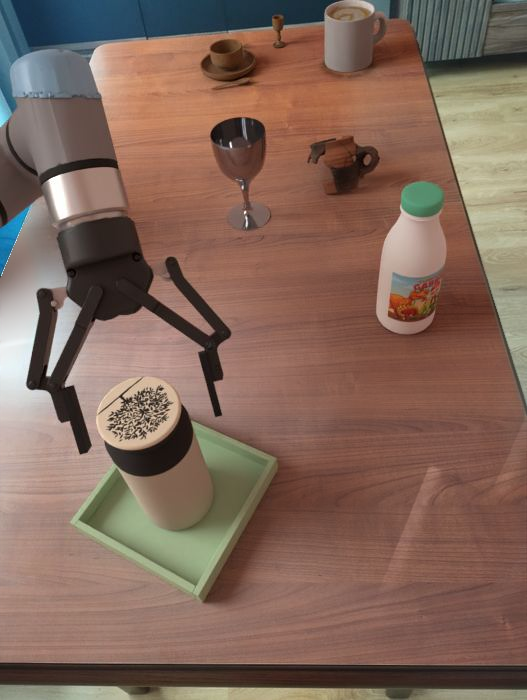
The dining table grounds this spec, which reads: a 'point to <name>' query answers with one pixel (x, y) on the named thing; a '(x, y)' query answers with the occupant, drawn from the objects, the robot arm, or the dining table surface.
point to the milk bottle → (412, 261)
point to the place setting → (234, 57)
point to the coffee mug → (351, 34)
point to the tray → (191, 543)
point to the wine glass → (242, 165)
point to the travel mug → (156, 451)
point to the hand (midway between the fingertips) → (152, 432)
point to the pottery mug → (343, 162)
